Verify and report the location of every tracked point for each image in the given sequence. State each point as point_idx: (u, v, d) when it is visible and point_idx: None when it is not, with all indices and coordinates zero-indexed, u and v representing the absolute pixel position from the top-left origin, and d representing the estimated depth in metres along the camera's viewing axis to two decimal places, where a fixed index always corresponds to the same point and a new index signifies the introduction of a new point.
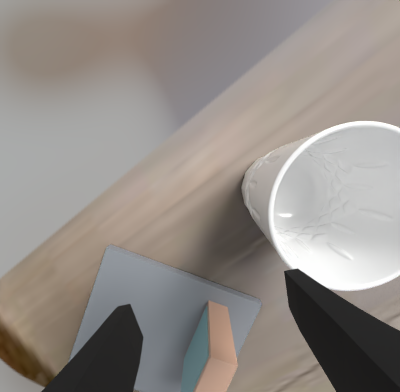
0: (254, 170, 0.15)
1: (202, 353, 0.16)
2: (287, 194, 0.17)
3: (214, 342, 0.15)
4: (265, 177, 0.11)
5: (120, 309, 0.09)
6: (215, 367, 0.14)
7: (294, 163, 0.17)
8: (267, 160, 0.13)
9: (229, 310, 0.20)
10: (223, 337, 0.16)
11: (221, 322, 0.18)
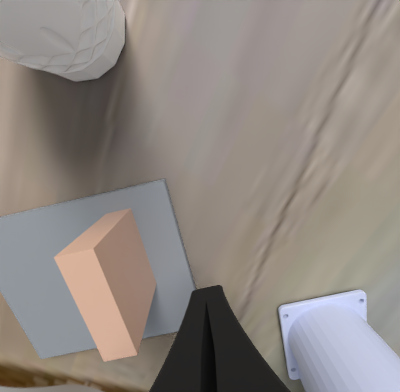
0: None
1: None
2: None
3: (75, 242, 0.11)
4: None
5: (199, 293, 0.09)
6: (70, 266, 0.10)
7: None
8: None
9: (135, 210, 0.16)
10: (96, 233, 0.12)
11: (106, 222, 0.13)
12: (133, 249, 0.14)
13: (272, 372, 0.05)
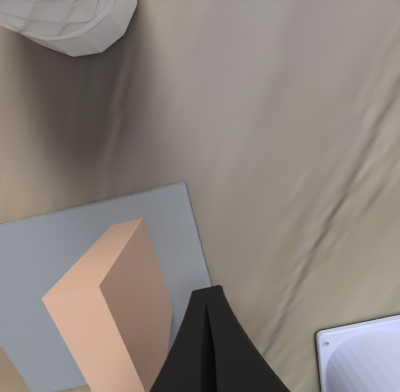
0: None
1: None
2: None
3: (73, 272, 0.08)
4: None
5: (199, 293, 0.09)
6: (66, 310, 0.07)
7: None
8: None
9: (149, 220, 0.13)
10: (101, 256, 0.09)
11: (114, 239, 0.10)
12: (148, 271, 0.11)
13: (272, 372, 0.05)
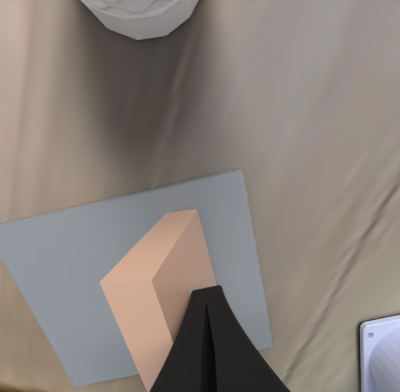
0: None
1: None
2: None
3: (128, 258, 0.08)
4: None
5: (199, 293, 0.09)
6: (120, 298, 0.07)
7: None
8: None
9: (204, 208, 0.12)
10: (155, 246, 0.09)
11: (168, 229, 0.10)
12: (199, 265, 0.11)
13: (272, 372, 0.05)
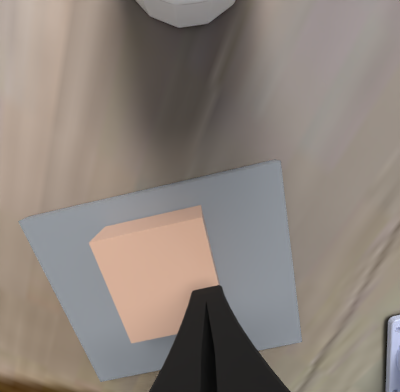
0: None
1: None
2: None
3: (123, 224, 0.12)
4: None
5: (199, 293, 0.09)
6: None
7: None
8: None
9: (239, 199, 0.12)
10: (132, 227, 0.11)
11: (159, 220, 0.11)
12: (176, 266, 0.11)
13: (272, 372, 0.05)
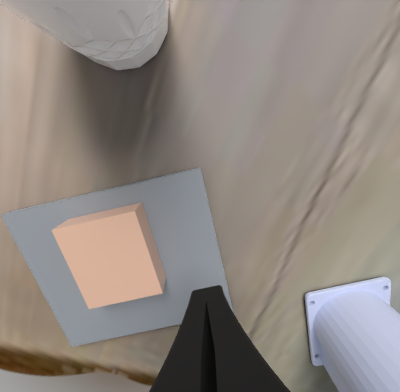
0: None
1: None
2: None
3: (81, 217, 0.16)
4: None
5: (199, 293, 0.09)
6: None
7: None
8: None
9: (172, 198, 0.16)
10: (86, 218, 0.15)
11: (106, 214, 0.15)
12: (119, 248, 0.15)
13: (272, 372, 0.05)
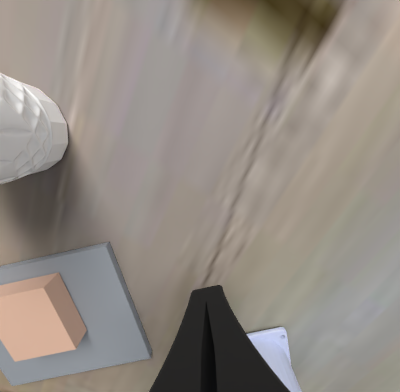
0: None
1: None
2: None
3: (7, 285, 0.19)
4: None
5: (199, 293, 0.09)
6: None
7: None
8: None
9: (84, 268, 0.19)
10: (7, 289, 0.18)
11: (24, 286, 0.18)
12: (34, 315, 0.18)
13: (272, 372, 0.05)
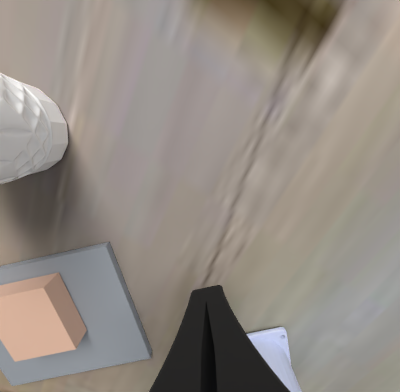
0: None
1: None
2: None
3: (7, 285, 0.19)
4: None
5: (199, 293, 0.09)
6: None
7: None
8: None
9: (84, 268, 0.19)
10: (7, 289, 0.18)
11: (24, 286, 0.18)
12: (34, 315, 0.18)
13: (272, 372, 0.05)
